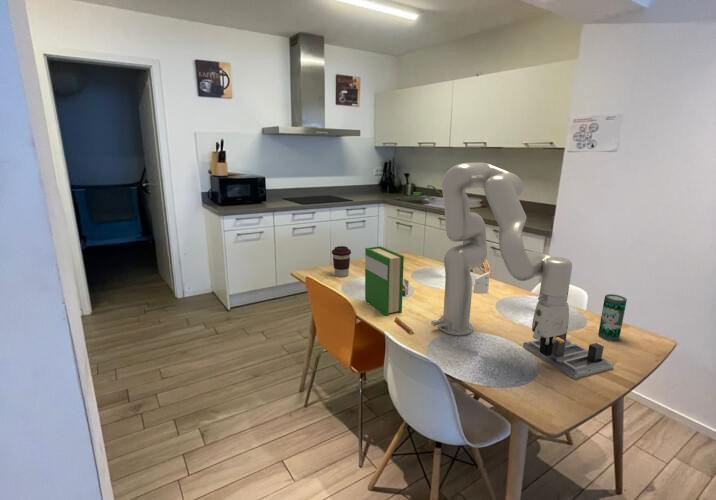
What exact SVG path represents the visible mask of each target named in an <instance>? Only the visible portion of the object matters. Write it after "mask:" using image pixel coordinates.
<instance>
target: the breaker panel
mask: <svg viewBox="0 0 716 500" xmlns="http://www.w3.org/2000/svg"><path fill="white" fill-rule="evenodd" d="M567 333H568V331H567V332H566V333H565V334H563V335H559V336H558V337H559V338H561V339H563V340H564V341H566V343H565V350H564V355H563V356H558V357H557V356H555V355H553V354H552V355H550V356H545V355H544V354H542V353H540V343H541V341H540V340H536V339H534V340H532V341H526V342H523V343H522V344H523V345H522V348H523V349H525V350H527V351H529V353H531V354H532V355H534V356H536V357H538V358H539V359H541V360H542V361H544V362H546V363H548V364H549V365H551V366H553V368H555V369H557V370H559V371H561V373H563V374H565V375H567V376H568V377H570V378H571V379H573V380H577V379H580V378H583V377H588V376H591V375H594V374H599V373H601V372H605V371H609V370H612V369H614V365H615V364H614V363H613V362H611V361H609V360H607V359H605V358H604V357H603V353H604V345H601V344H599V343H598V342H596V343H595V342H594V343H591V344H588V349H587V348H585V347H583V346H581V345H578V344H577V343H575V342H573V341H571V340H569V339H567V336H568V335H567Z"/></svg>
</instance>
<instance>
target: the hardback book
mask: <svg viewBox="0 0 716 500" xmlns="http://www.w3.org/2000/svg"><path fill="white" fill-rule="evenodd" d="M364 252H365V254H364V255H365V257H364V258H365V260H364V262H365V263H364V265H365V266H364V267H365V269H364V271H365V272H364V276H365V277H364V279H365V281H364V284H365V285H364V302H365V301H366V304H368V303H369V304H368V305H370V306H371V307H373V308H374V309H375V310H377V311H378V312H380V313H382V314H383V315H385V317H389V314H392V313H396V312H398V313H399V314H402V313H403V295H402V293H403V279H404V262H405V261H404V260H405V259H404V255H402V254H400V253H398V252H395V251H393V250H391V249H389V248H386V247H383V246H381V245H379V246H373V247H365V249H364Z"/></svg>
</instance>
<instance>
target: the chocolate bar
mask: <svg viewBox="0 0 716 500" xmlns="http://www.w3.org/2000/svg"><path fill="white" fill-rule="evenodd" d="M393 322H394V323H395V324H396V325H397V326H399V327H400V328H401V329H402V330H403V331H405V332H406V333H407V334H408V335H409V336H412V335H415V332H414V331H413V329H412V328H411V327H410V326H408V324H406V323H405V322H404V321H402V320H401V319H400V318H398V317H397V316H395V318H394V321H393Z"/></svg>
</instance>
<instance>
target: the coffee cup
mask: <svg viewBox="0 0 716 500" xmlns="http://www.w3.org/2000/svg"><path fill="white" fill-rule="evenodd" d="M351 254H352V250H351V249H349V248H348V246H346V245H345V246H344V245H339V246H338V245H337V246H335V247H334V248H333V249H332V250H331V255H333V256H332V263H333V269H334V276H336V277H338V278H345V277H348V276H349V274H350V273H349V271H350V263H351Z"/></svg>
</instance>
